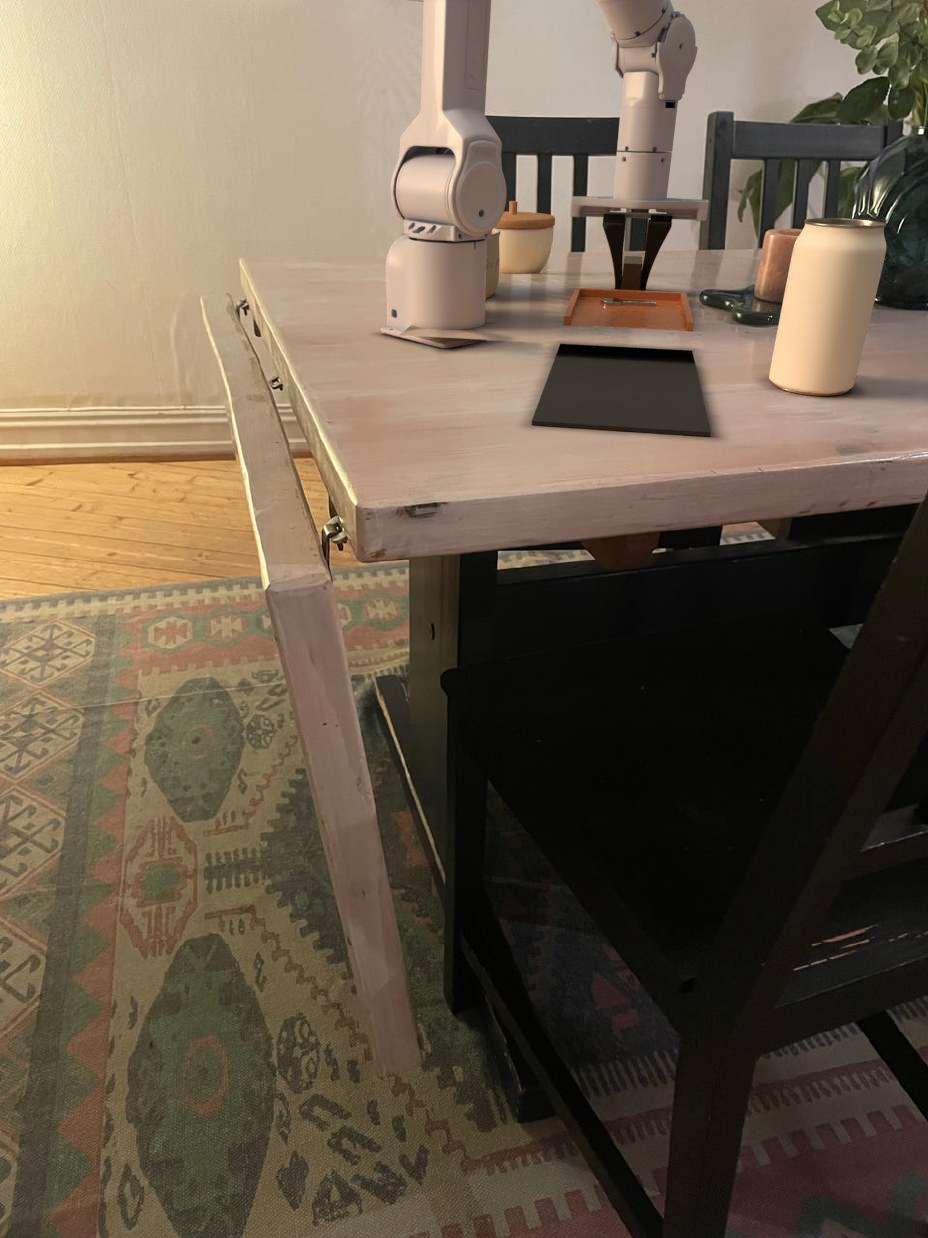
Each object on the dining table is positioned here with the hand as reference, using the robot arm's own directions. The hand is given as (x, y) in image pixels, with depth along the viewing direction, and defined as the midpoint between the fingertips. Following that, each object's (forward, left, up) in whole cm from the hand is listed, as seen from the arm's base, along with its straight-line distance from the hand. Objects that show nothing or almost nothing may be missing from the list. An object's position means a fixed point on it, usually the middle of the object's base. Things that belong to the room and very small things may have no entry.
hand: (630, 289), depth 97 cm
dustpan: (+5, -7, -1) cm, 8 cm away
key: (+4, -6, 0) cm, 7 cm away
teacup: (-14, -15, -2) cm, 20 cm away
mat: (+20, -27, -2) cm, 33 cm away
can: (+30, -17, -2) cm, 35 cm away
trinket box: (-22, +3, -2) cm, 22 cm away
